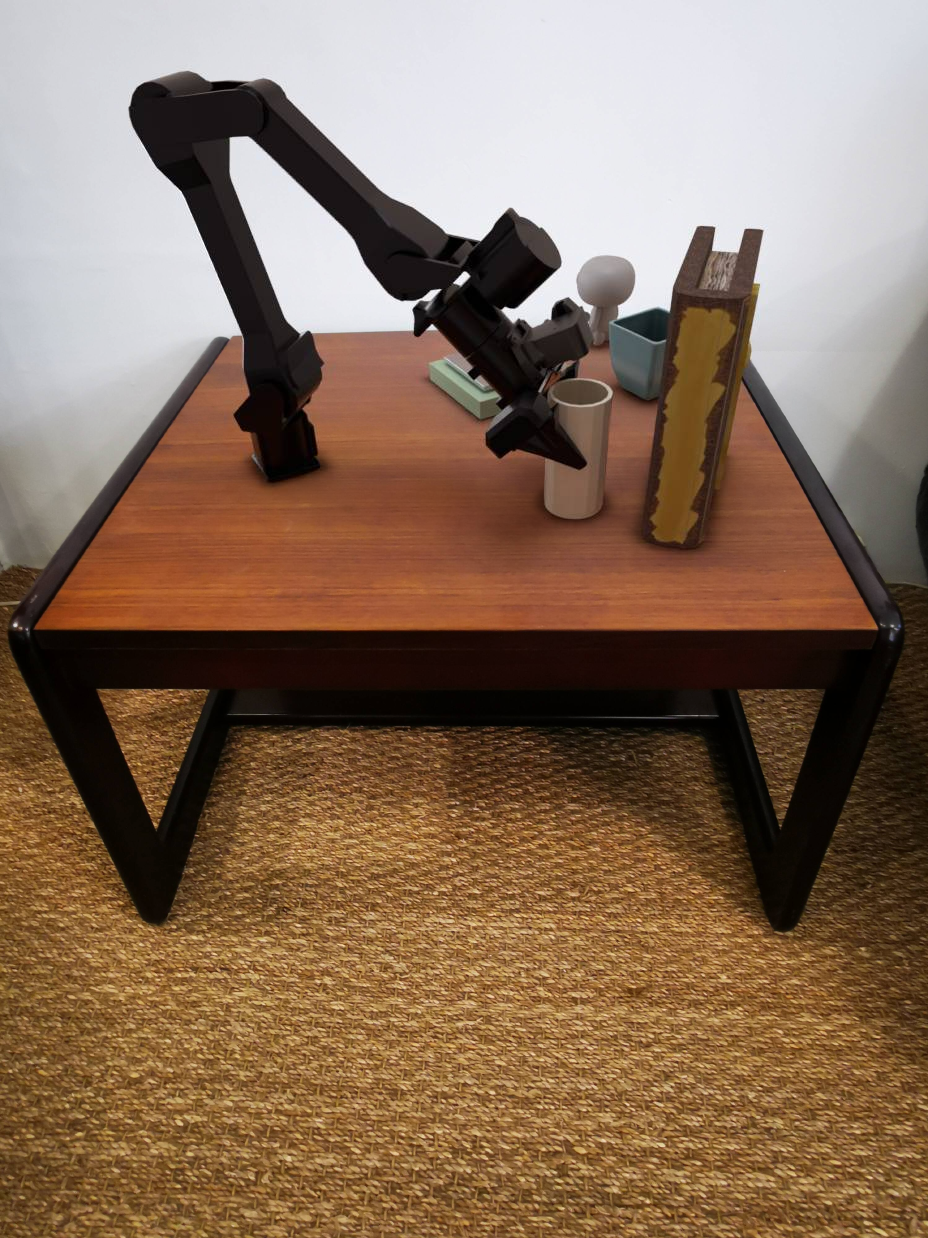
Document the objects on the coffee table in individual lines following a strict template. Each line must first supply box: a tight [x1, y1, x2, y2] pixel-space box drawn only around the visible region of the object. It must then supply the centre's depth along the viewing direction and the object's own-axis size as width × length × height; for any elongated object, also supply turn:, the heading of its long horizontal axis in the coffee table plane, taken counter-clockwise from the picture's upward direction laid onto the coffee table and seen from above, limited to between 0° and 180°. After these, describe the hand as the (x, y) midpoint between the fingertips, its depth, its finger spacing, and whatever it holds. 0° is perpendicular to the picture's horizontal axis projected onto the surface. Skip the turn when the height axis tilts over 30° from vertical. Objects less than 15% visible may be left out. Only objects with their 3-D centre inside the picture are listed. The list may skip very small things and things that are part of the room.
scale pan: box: [443, 352, 493, 391], centre depth 110 cm, size 11×11×1 cm
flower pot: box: [608, 306, 670, 401], centre depth 107 cm, size 9×9×9 cm
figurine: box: [575, 254, 636, 347], centre depth 118 cm, size 8×8×12 cm
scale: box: [428, 358, 502, 421], centre depth 111 cm, size 14×14×3 cm
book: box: [640, 225, 764, 550], centre depth 83 cm, size 22×8×25 cm, turn 162°
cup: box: [543, 377, 614, 520], centre depth 86 cm, size 6×6×13 cm
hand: (589, 451), depth 86 cm, fingers closed on cup, 6 cm apart
